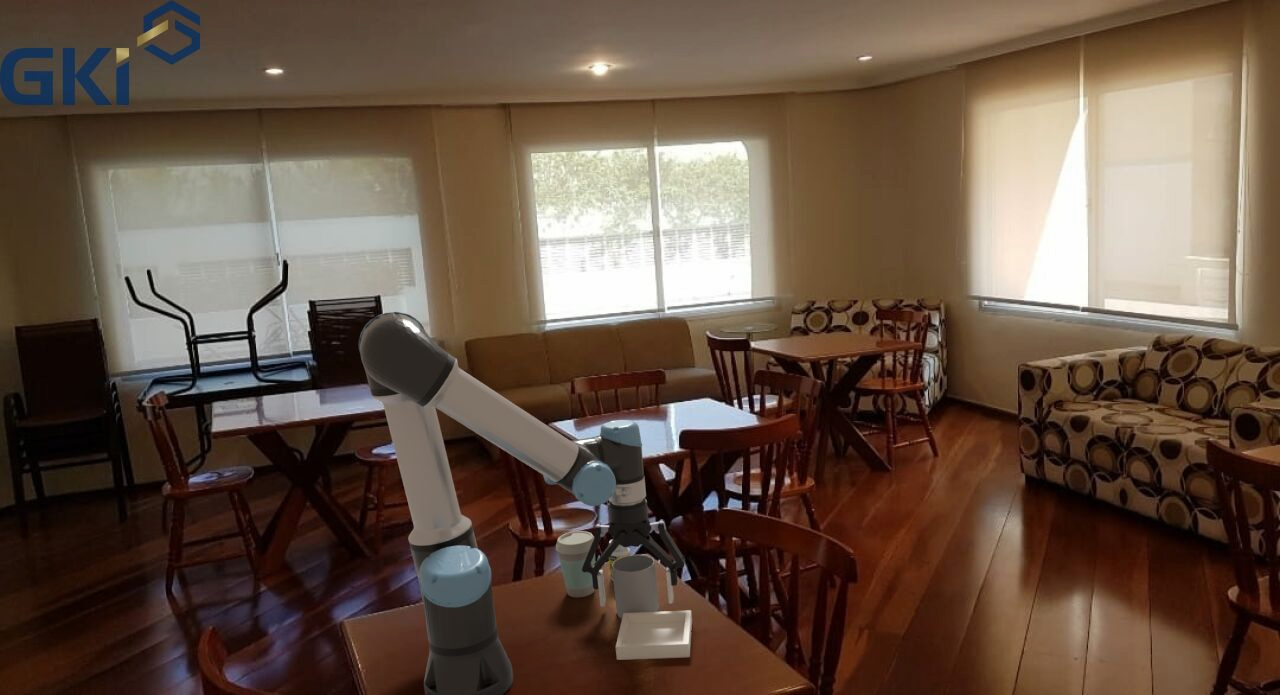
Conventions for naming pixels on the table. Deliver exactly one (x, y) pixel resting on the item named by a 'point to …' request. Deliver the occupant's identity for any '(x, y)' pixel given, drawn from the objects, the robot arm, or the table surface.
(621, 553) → the supplement bottle
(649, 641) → the tray
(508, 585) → the table surface
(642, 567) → the cup
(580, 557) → the coffee cup
